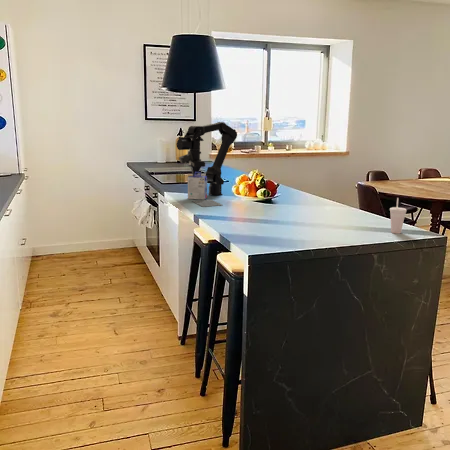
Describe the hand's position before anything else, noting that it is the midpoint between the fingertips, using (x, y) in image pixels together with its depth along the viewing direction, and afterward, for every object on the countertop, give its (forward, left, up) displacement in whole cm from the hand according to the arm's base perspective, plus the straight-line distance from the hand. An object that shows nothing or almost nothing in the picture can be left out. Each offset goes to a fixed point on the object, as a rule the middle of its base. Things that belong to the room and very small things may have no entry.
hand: (194, 178), depth 260 cm
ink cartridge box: (0, +4, -11) cm, 12 cm away
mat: (0, +19, -11) cm, 22 cm away
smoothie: (-50, +102, -11) cm, 115 cm away
